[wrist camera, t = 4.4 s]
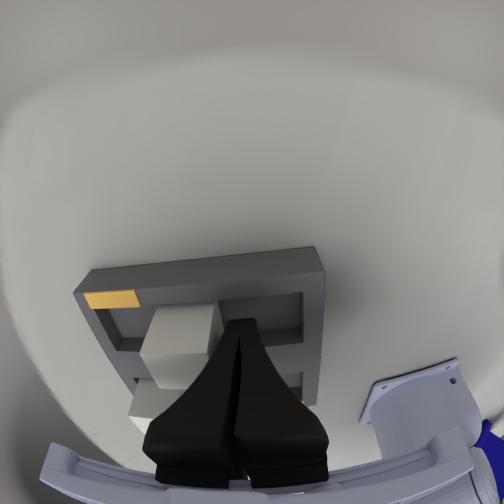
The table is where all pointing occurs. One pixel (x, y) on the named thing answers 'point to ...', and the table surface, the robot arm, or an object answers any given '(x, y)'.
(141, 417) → the white block
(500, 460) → the blue valve with handwheel
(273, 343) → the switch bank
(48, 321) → the table surface
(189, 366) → the white rectangular block
